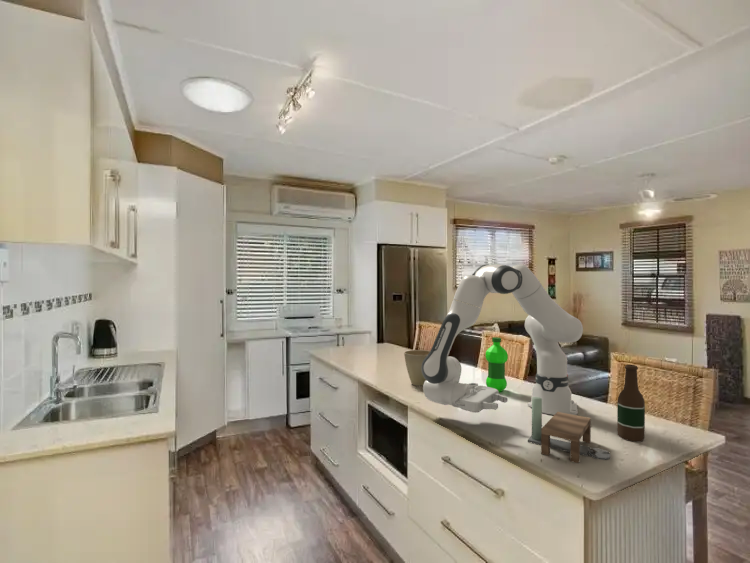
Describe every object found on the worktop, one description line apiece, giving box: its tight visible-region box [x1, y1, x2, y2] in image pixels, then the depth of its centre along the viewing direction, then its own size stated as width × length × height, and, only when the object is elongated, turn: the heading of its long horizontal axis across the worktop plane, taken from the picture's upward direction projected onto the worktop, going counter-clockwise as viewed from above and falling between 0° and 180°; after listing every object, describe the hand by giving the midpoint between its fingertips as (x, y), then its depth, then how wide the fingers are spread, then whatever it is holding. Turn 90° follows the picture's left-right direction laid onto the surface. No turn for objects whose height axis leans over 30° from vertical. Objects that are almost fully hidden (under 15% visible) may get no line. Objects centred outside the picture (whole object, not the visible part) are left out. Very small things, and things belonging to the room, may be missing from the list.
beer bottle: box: [616, 364, 646, 443], centre depth 131 cm, size 8×8×24 cm
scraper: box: [527, 396, 591, 457], centre depth 124 cm, size 17×6×14 cm, turn 54°
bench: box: [540, 412, 592, 464], centre depth 123 cm, size 20×10×8 cm, turn 142°
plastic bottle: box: [485, 336, 509, 393], centre depth 187 cm, size 10×10×25 cm
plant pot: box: [403, 349, 431, 387], centre depth 198 cm, size 15×15×16 cm
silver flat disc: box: [588, 447, 611, 461], centre depth 117 cm, size 6×6×1 cm
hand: (502, 403), depth 135 cm, fingers open, 8 cm apart
